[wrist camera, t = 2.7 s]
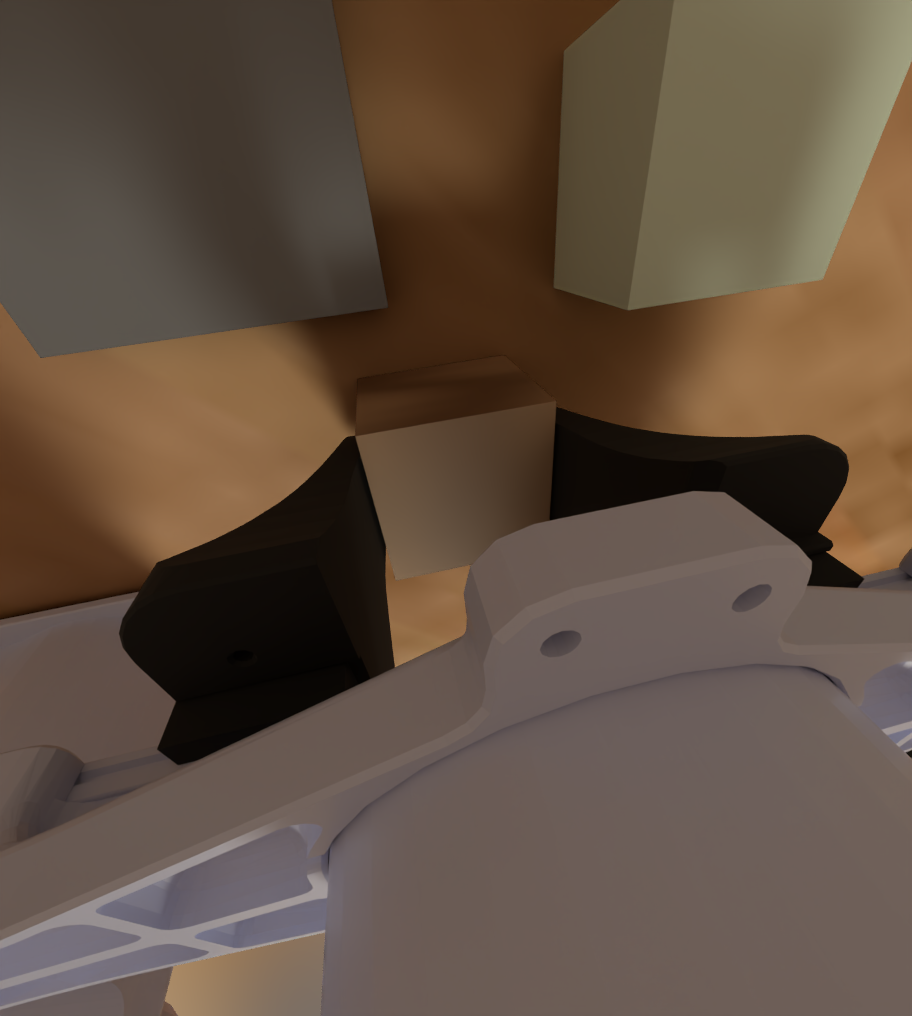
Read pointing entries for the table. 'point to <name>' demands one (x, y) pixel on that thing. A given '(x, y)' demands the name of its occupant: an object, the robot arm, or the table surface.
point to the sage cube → (719, 142)
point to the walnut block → (454, 459)
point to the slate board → (177, 171)
